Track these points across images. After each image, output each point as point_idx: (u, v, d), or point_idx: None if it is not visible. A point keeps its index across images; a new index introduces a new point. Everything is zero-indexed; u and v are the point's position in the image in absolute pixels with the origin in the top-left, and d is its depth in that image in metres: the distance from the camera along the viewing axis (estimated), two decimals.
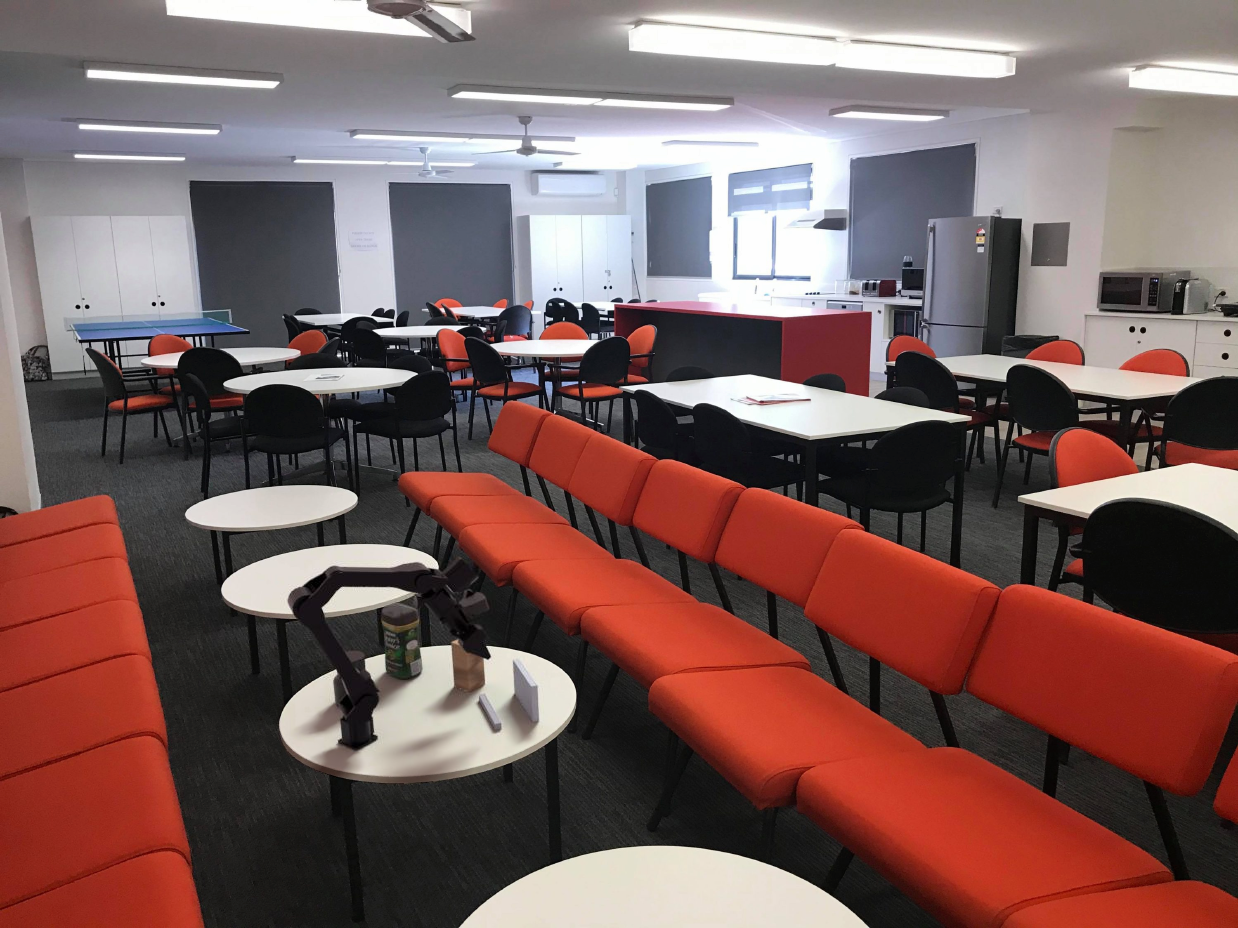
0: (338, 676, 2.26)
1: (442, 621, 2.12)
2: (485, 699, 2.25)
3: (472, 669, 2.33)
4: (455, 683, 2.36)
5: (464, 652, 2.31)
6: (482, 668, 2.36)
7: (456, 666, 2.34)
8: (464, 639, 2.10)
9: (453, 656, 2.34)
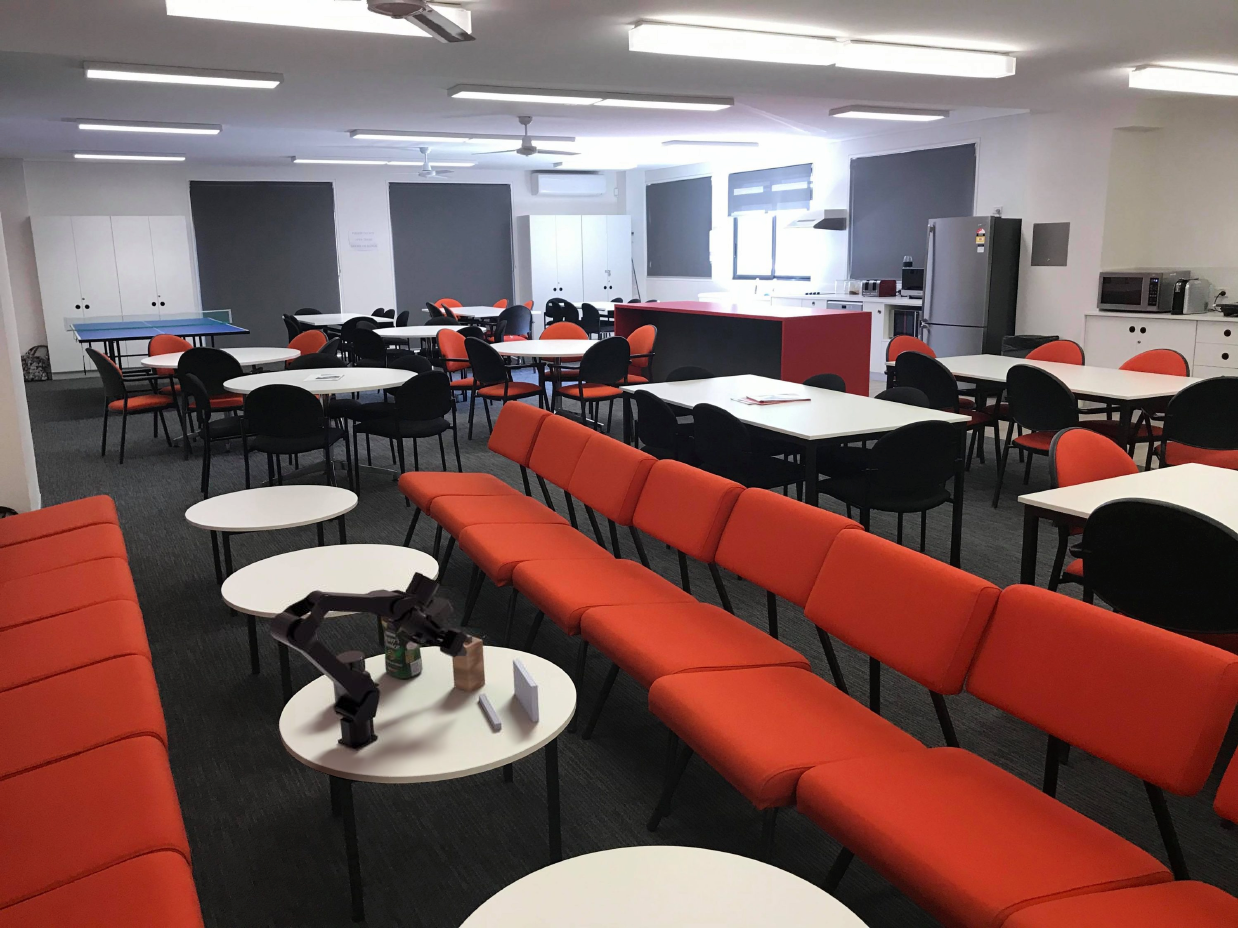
0: None
1: (419, 636, 2.18)
2: (485, 699, 2.25)
3: (473, 669, 2.33)
4: (455, 683, 2.36)
5: None
6: (482, 668, 2.36)
7: (456, 666, 2.34)
8: (448, 645, 2.18)
9: None
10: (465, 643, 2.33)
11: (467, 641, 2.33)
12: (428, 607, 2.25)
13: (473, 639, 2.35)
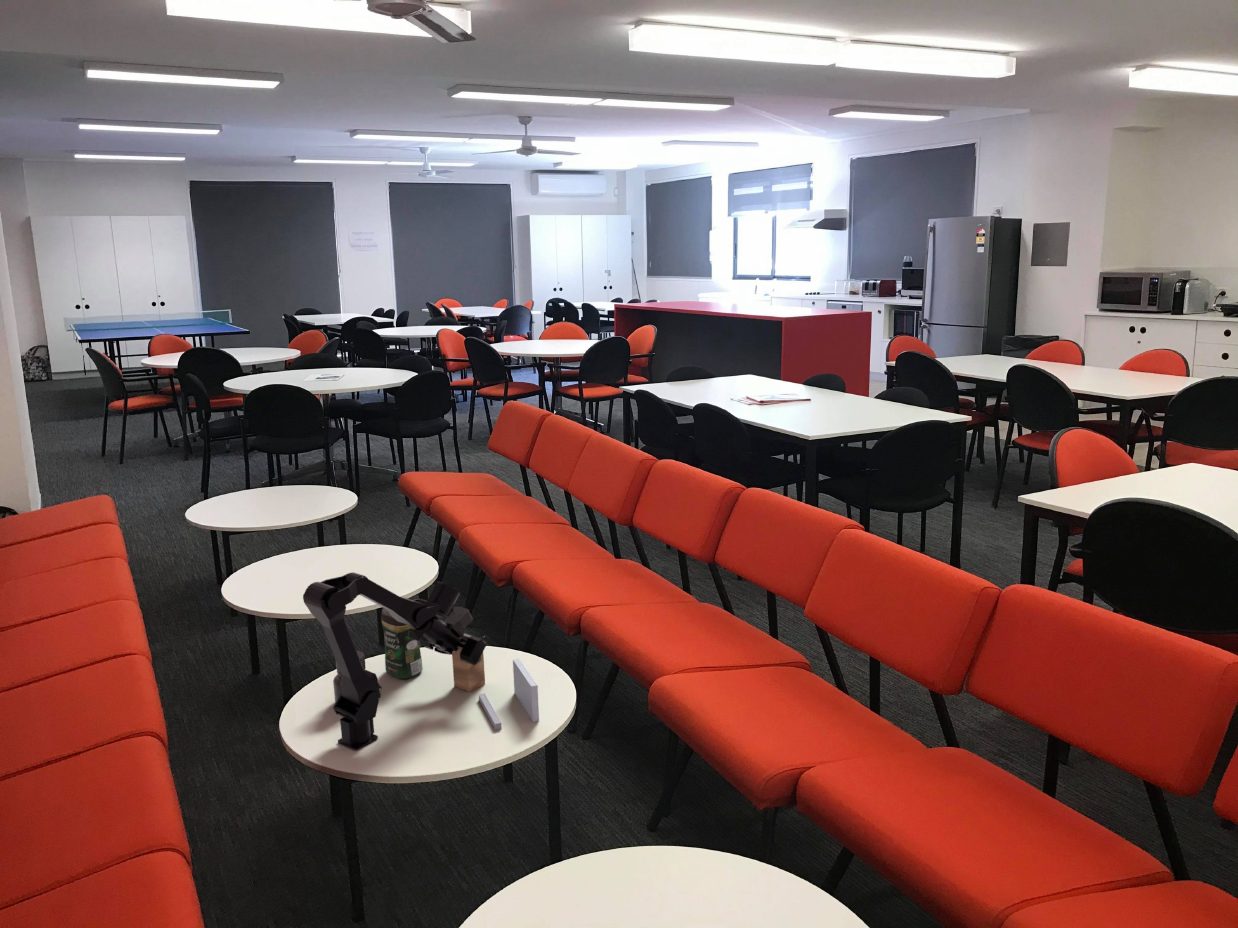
0: (338, 676, 2.26)
1: (440, 644, 2.24)
2: (485, 699, 2.25)
3: (473, 669, 2.33)
4: (455, 683, 2.36)
5: None
6: (482, 668, 2.36)
7: (456, 666, 2.34)
8: (468, 653, 2.24)
9: (453, 656, 2.34)
10: None
11: None
12: (448, 616, 2.30)
13: None
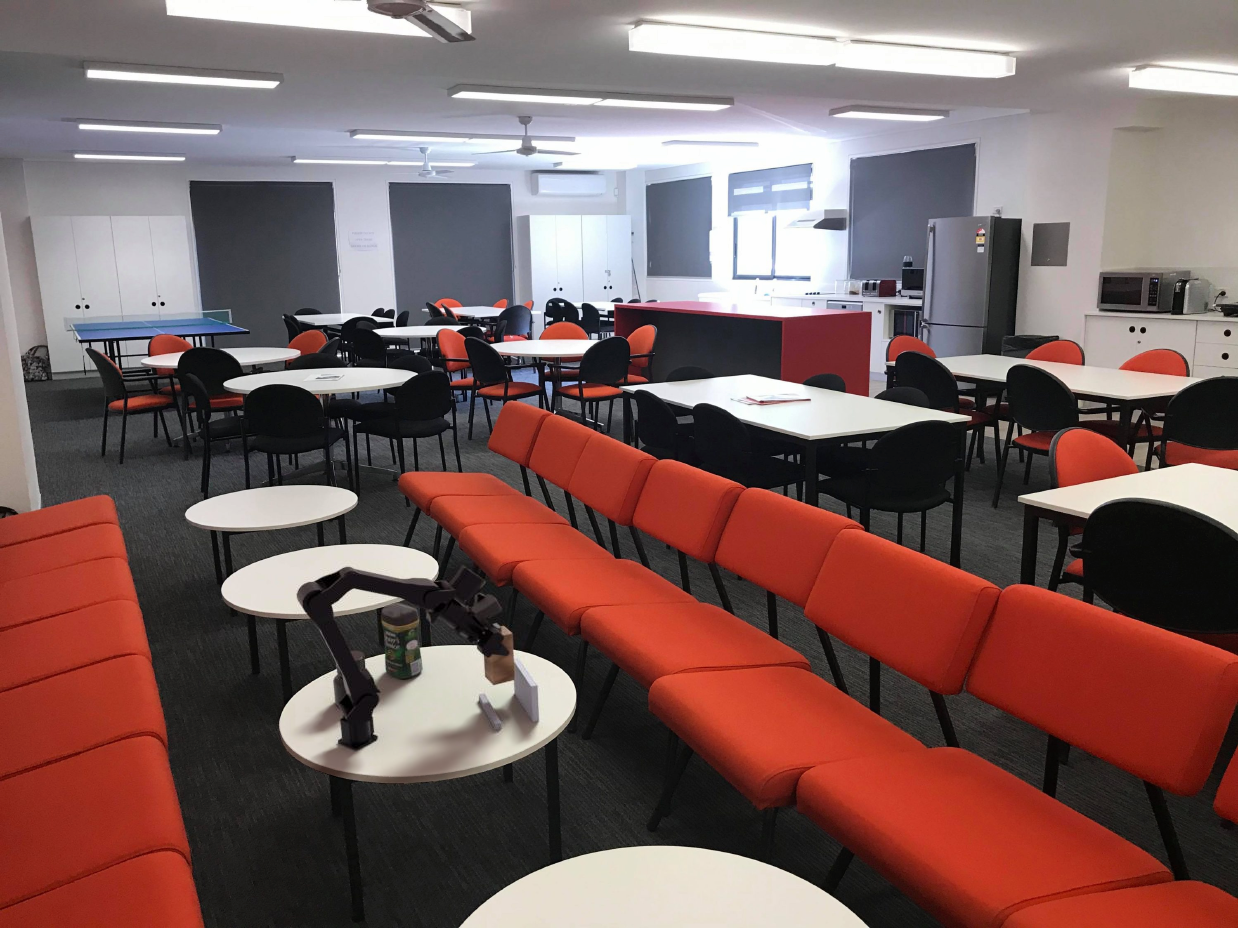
0: (338, 676, 2.26)
1: (458, 631, 2.15)
2: (485, 699, 2.25)
3: (499, 662, 2.22)
4: (485, 673, 2.26)
5: None
6: (511, 663, 2.23)
7: (485, 656, 2.24)
8: (482, 645, 2.13)
9: None
10: None
11: None
12: (478, 603, 2.21)
13: (504, 631, 2.23)
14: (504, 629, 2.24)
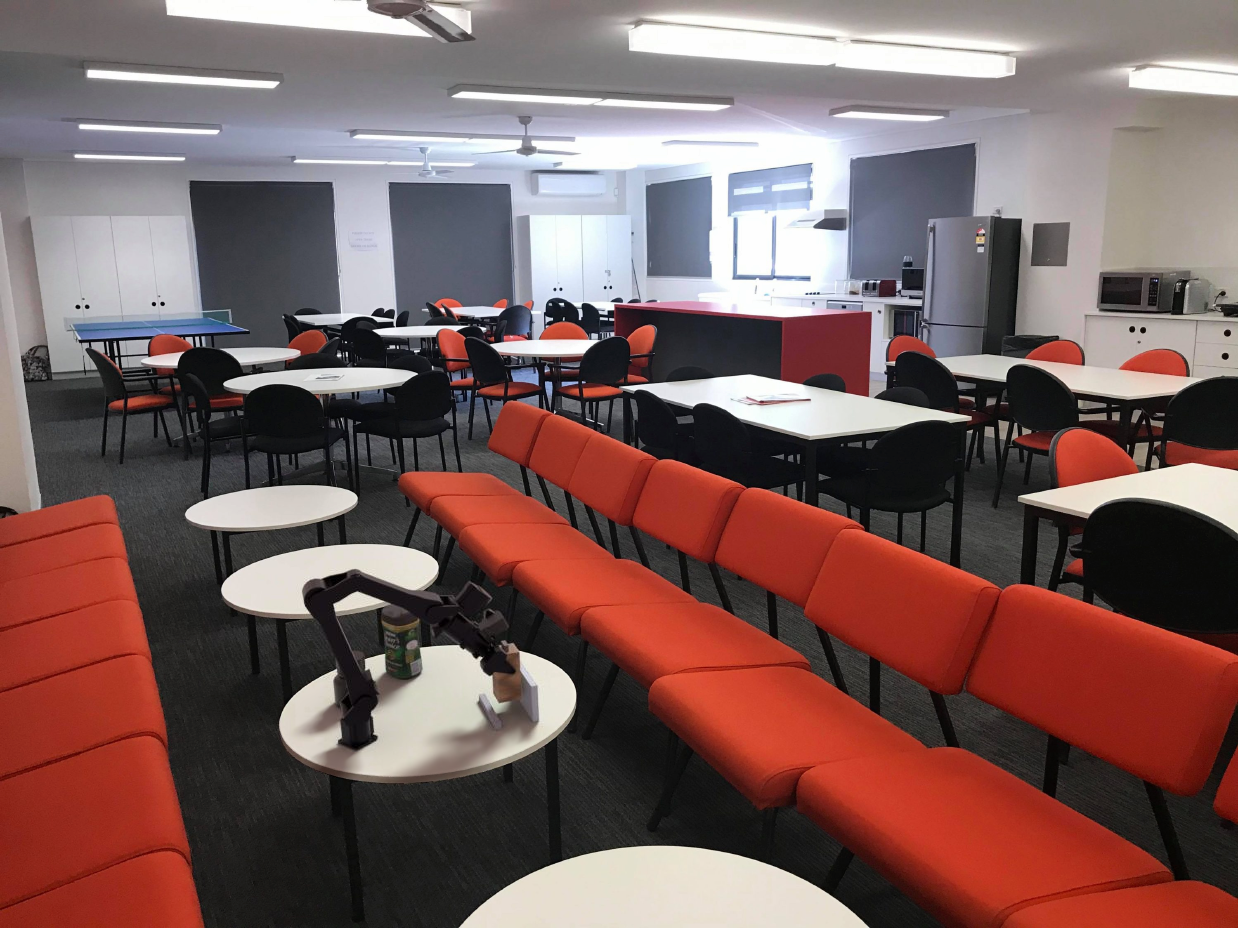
0: (338, 676, 2.26)
1: (462, 647, 2.13)
2: (485, 699, 2.25)
3: (505, 681, 2.18)
4: (493, 690, 2.23)
5: None
6: (518, 681, 2.20)
7: None
8: (484, 663, 2.10)
9: None
10: None
11: None
12: (485, 619, 2.18)
13: (512, 649, 2.20)
14: (512, 647, 2.21)
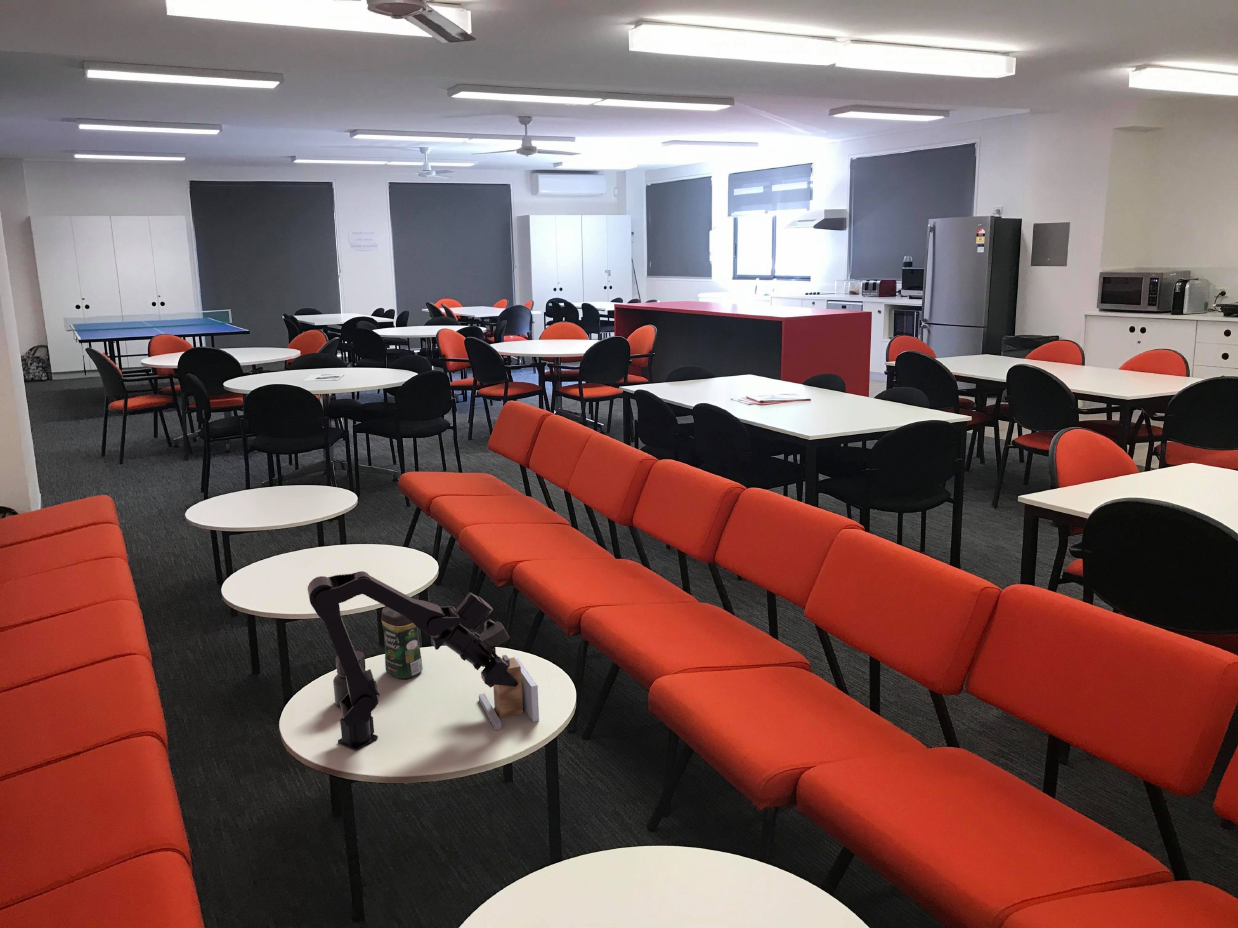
0: (338, 676, 2.26)
1: (463, 658, 2.14)
2: (485, 699, 2.25)
3: (506, 695, 2.19)
4: (494, 704, 2.24)
5: None
6: (519, 696, 2.20)
7: (494, 687, 2.22)
8: (485, 674, 2.10)
9: None
10: None
11: None
12: (486, 630, 2.19)
13: (513, 663, 2.21)
14: (513, 661, 2.22)
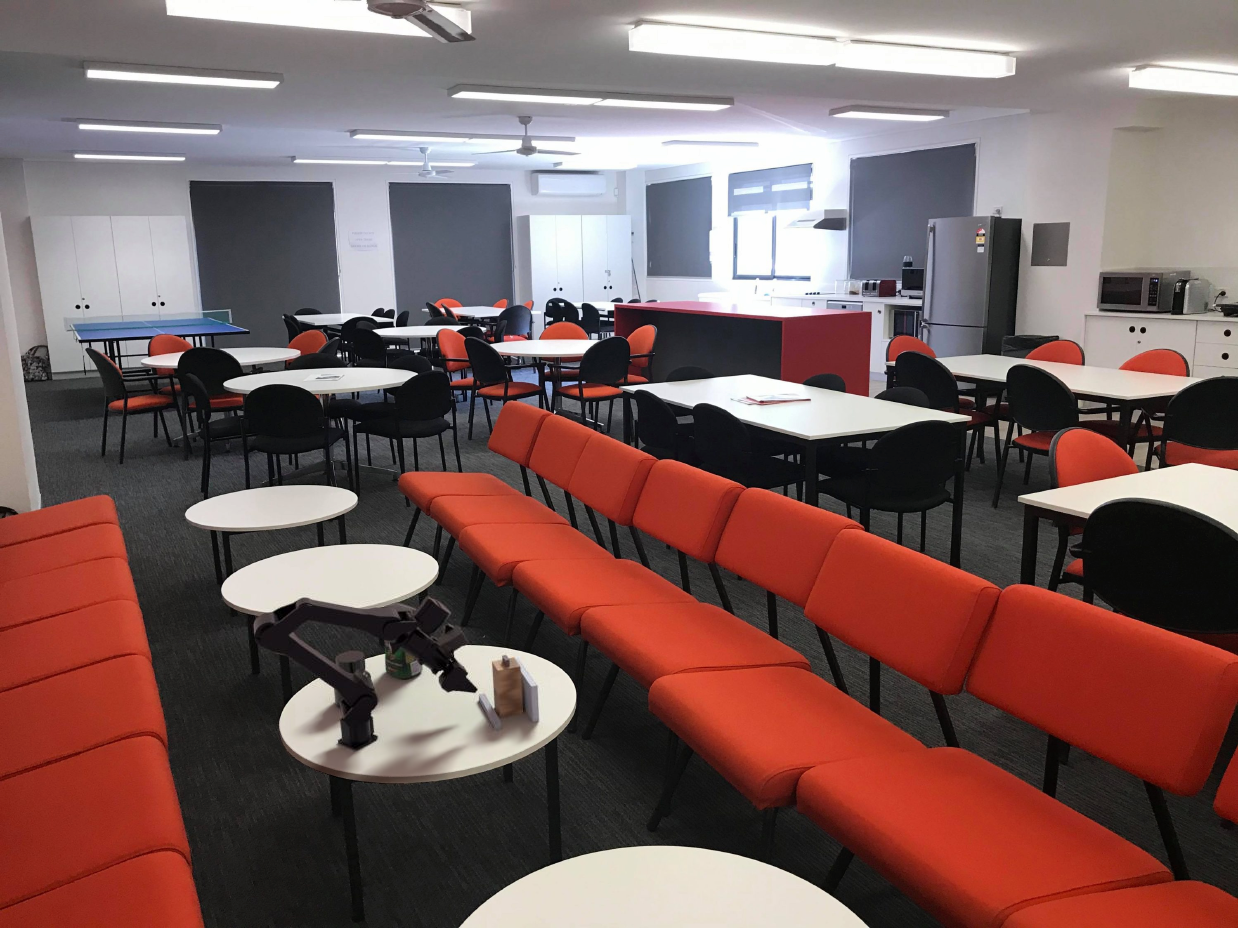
0: None
1: (420, 663, 2.10)
2: (485, 699, 2.25)
3: (506, 695, 2.19)
4: (494, 704, 2.24)
5: (497, 675, 2.18)
6: (519, 696, 2.20)
7: (494, 687, 2.22)
8: (442, 679, 2.07)
9: (493, 676, 2.22)
10: (502, 666, 2.19)
11: (504, 664, 2.19)
12: (445, 634, 2.16)
13: (513, 663, 2.21)
14: (513, 661, 2.22)
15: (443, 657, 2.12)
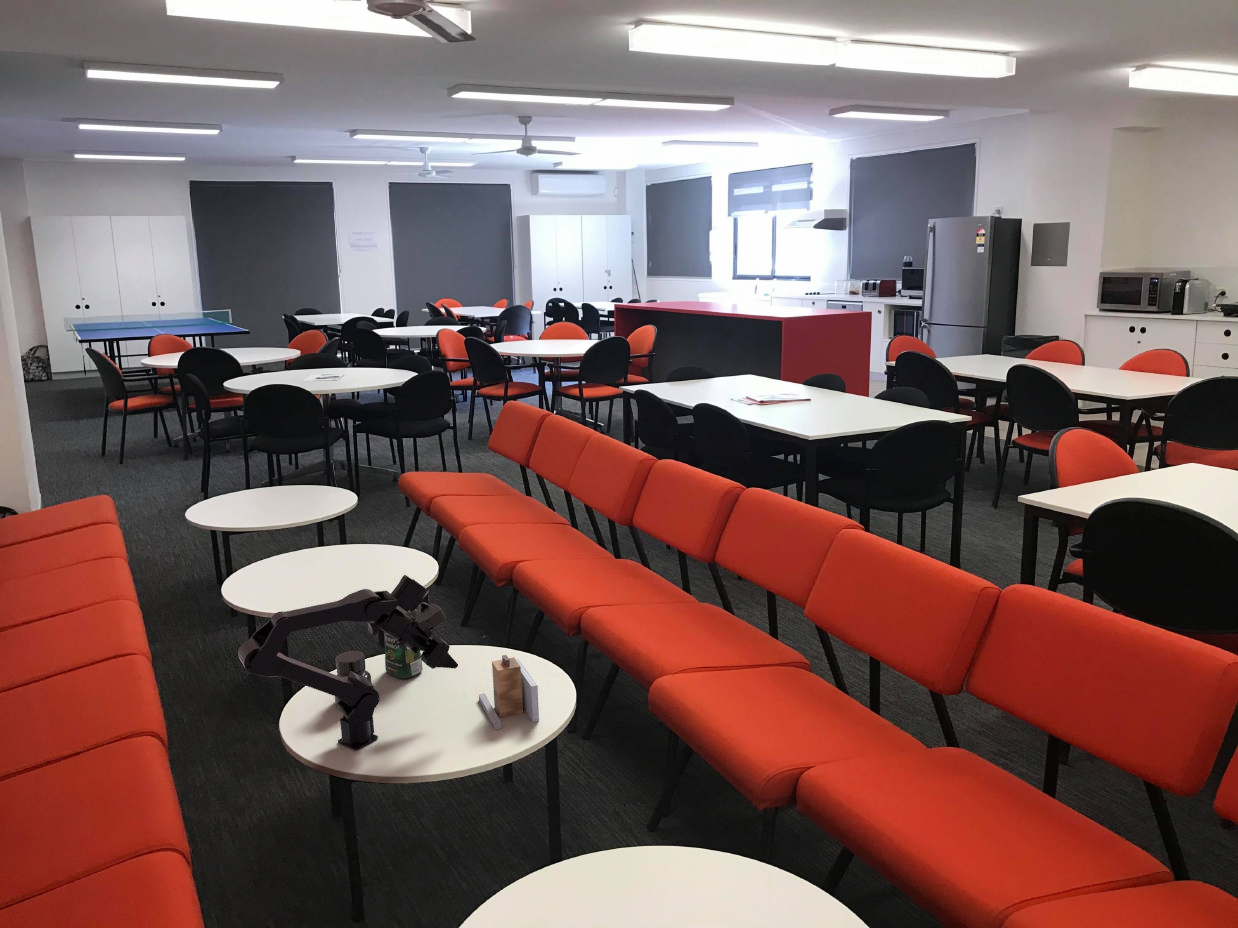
0: None
1: (401, 642, 2.10)
2: (485, 699, 2.25)
3: (506, 695, 2.19)
4: (494, 704, 2.24)
5: (497, 675, 2.18)
6: (519, 696, 2.20)
7: (494, 687, 2.22)
8: (427, 656, 2.07)
9: (493, 676, 2.22)
10: (502, 666, 2.19)
11: (504, 664, 2.19)
12: (421, 612, 2.16)
13: (513, 663, 2.21)
14: (513, 661, 2.22)
15: (423, 635, 2.12)
